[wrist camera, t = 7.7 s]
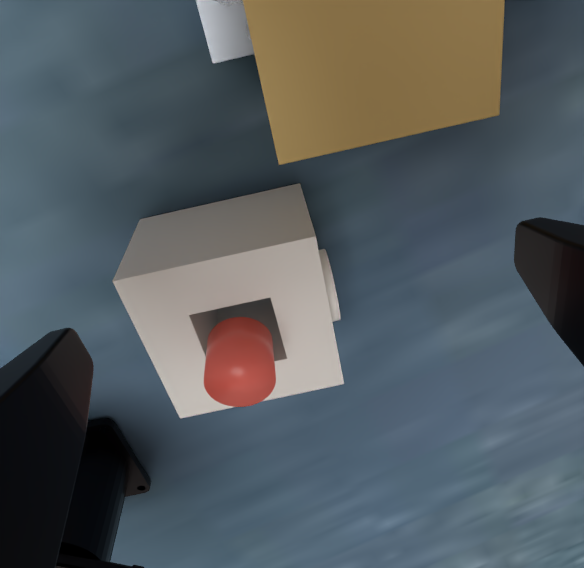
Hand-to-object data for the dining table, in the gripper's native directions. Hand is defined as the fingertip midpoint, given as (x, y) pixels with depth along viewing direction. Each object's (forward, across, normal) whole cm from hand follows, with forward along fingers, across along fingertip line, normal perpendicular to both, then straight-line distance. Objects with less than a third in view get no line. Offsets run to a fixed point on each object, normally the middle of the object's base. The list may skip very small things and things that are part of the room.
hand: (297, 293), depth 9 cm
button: (+6, +3, +5) cm, 8 cm away
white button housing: (+11, +2, +5) cm, 13 cm away
